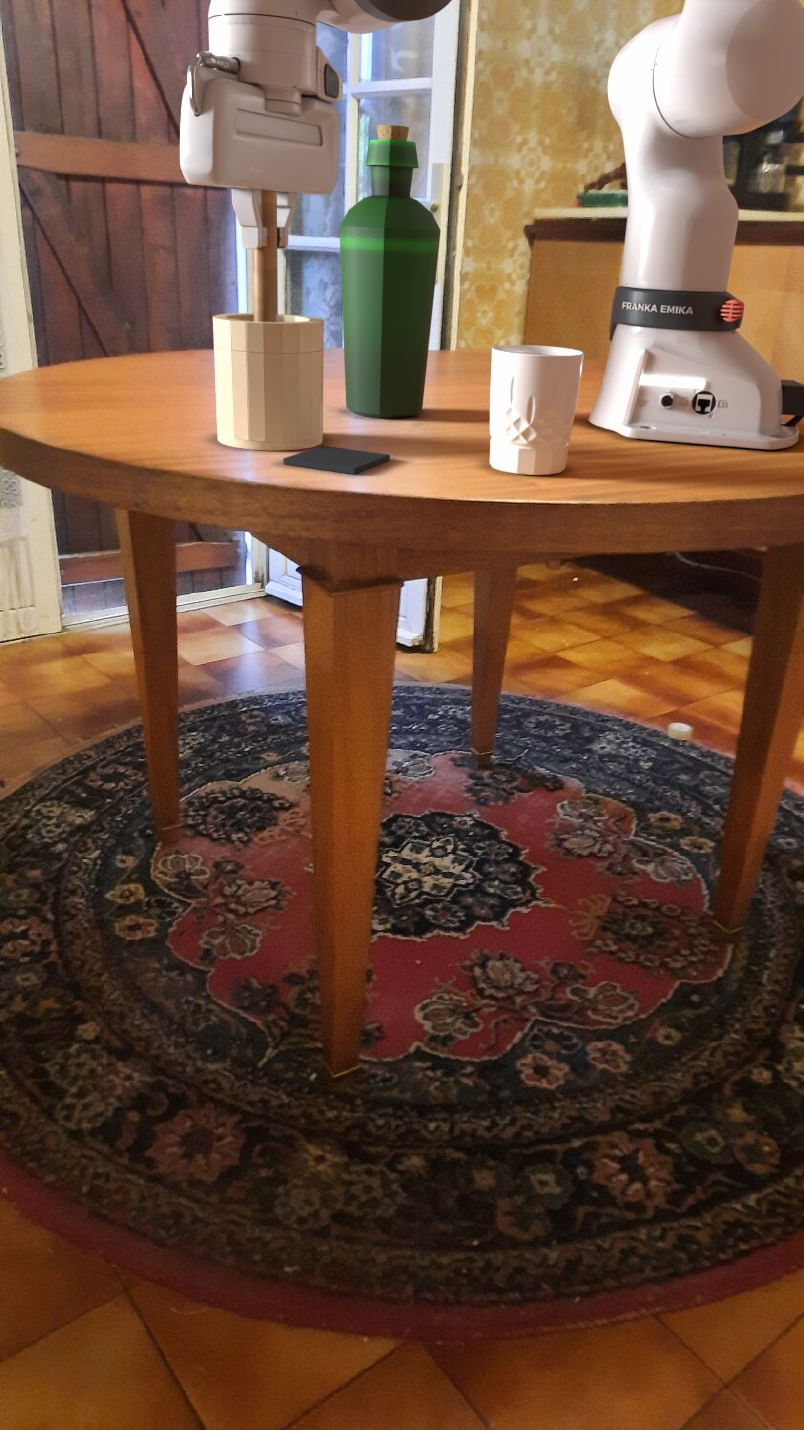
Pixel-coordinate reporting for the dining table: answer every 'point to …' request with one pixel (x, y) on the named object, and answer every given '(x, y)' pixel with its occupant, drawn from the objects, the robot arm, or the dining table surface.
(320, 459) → the mat
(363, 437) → the dining table surface
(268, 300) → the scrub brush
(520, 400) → the white cup
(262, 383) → the jar
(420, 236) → the bottle
